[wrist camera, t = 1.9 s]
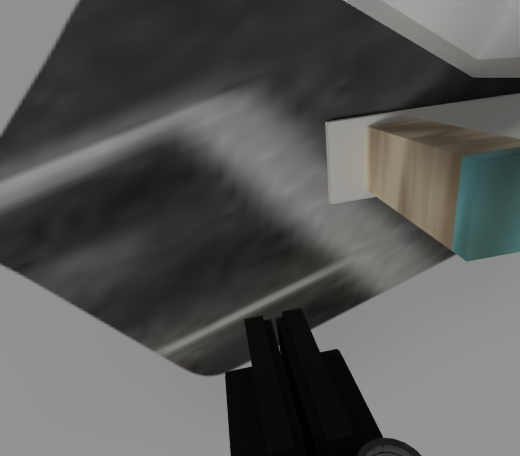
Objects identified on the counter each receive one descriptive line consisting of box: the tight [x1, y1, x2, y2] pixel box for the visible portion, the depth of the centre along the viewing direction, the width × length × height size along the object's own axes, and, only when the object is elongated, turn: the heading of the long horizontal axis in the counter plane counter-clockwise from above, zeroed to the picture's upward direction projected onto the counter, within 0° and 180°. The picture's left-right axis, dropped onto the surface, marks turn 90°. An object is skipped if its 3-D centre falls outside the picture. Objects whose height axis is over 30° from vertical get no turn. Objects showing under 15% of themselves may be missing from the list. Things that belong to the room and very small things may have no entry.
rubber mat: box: [325, 93, 520, 204], centre depth 28 cm, size 19×6×1 cm, turn 97°
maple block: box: [367, 119, 520, 261], centre depth 22 cm, size 4×5×12 cm
